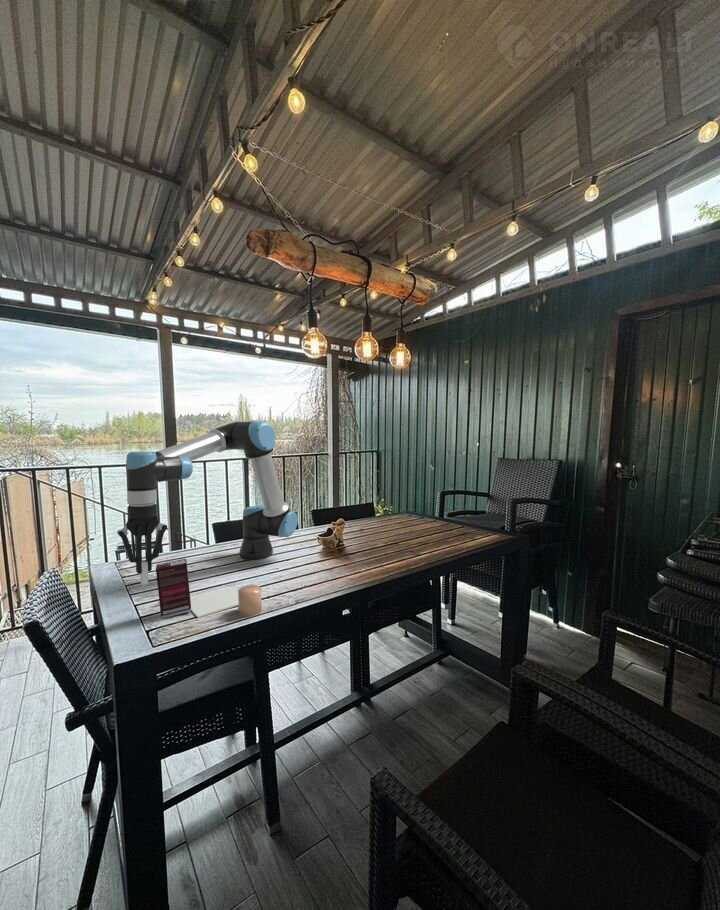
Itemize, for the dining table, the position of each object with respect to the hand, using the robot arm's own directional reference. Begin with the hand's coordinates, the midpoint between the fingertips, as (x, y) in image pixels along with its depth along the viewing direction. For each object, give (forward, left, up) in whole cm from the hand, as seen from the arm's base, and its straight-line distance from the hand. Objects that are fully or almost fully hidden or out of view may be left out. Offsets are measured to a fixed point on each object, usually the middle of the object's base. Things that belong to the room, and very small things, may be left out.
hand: (144, 583), depth 109 cm
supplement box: (-9, 0, -12) cm, 15 cm away
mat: (-21, 0, -12) cm, 24 cm away
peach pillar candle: (-26, +14, -12) cm, 32 cm away
